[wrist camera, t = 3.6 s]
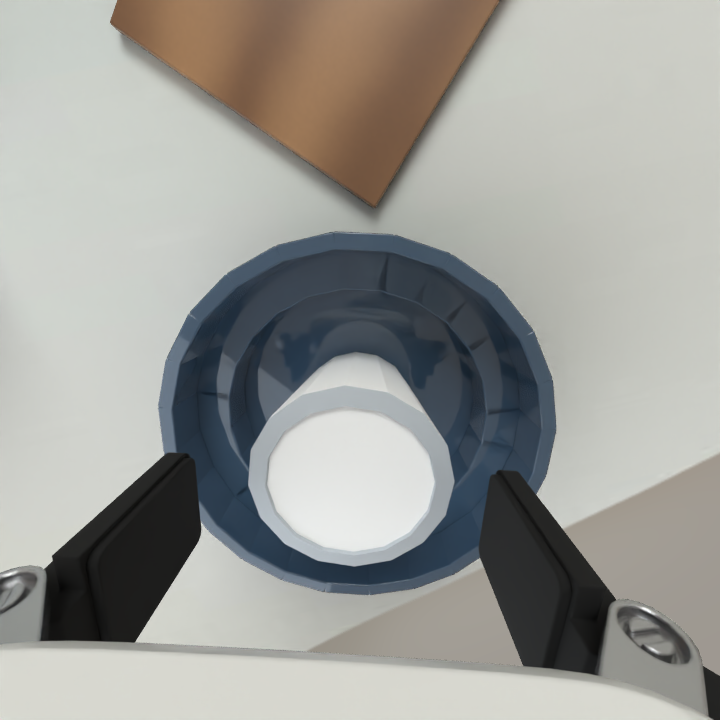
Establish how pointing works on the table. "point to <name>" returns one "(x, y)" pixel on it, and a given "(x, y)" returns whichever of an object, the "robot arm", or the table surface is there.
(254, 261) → the bowl
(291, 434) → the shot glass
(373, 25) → the wooden board
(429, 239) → the table surface
